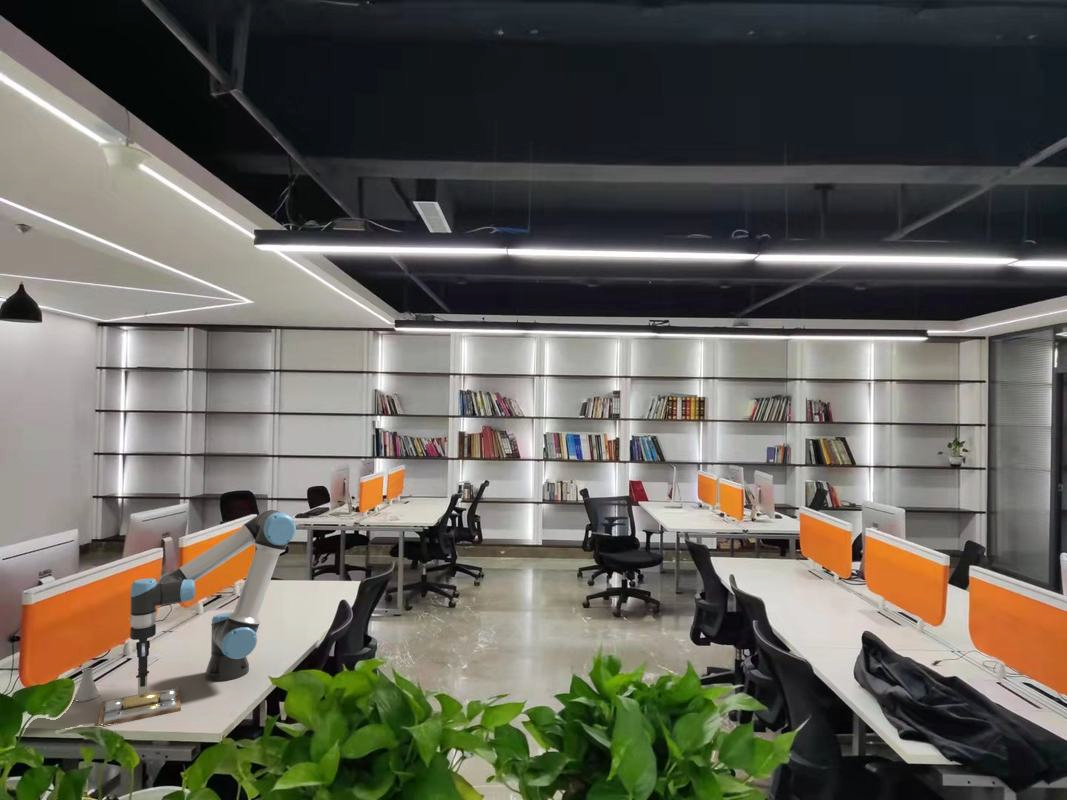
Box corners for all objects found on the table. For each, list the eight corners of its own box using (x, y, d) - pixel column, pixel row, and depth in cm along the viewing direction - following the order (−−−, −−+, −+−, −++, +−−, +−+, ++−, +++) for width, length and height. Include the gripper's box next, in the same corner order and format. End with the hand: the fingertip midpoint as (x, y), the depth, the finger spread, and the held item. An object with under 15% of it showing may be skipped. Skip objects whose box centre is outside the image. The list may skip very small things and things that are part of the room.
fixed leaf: (176, 698, 221) (176, 686, 221) (177, 707, 214) (177, 695, 214) (103, 712, 210) (104, 700, 210) (102, 722, 203) (102, 709, 203)
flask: (83, 703, 220) (83, 674, 221) (69, 700, 223) (70, 671, 224) (103, 695, 227) (104, 667, 228) (90, 692, 230) (91, 664, 230)
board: (178, 690, 231) (178, 687, 231) (180, 710, 214) (180, 707, 214) (102, 705, 219) (102, 701, 219) (98, 728, 202) (98, 724, 202)
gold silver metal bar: (174, 694, 225) (174, 682, 225) (175, 702, 217) (175, 690, 218) (106, 707, 214) (106, 695, 214) (104, 716, 207) (105, 704, 207)
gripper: (130, 622, 223) (129, 691, 222) (130, 632, 212) (129, 704, 211) (155, 618, 227) (154, 686, 226) (156, 628, 216) (155, 698, 215)
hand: (142, 694), depth 218 cm, fingers closed
